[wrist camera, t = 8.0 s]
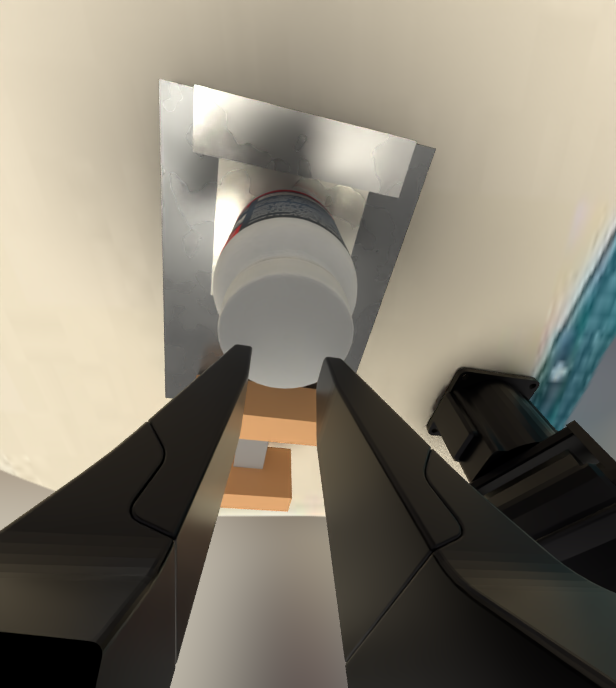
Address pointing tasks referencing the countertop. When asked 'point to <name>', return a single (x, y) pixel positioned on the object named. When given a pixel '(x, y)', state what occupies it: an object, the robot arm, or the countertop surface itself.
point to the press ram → (269, 462)
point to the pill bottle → (285, 288)
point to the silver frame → (262, 176)
